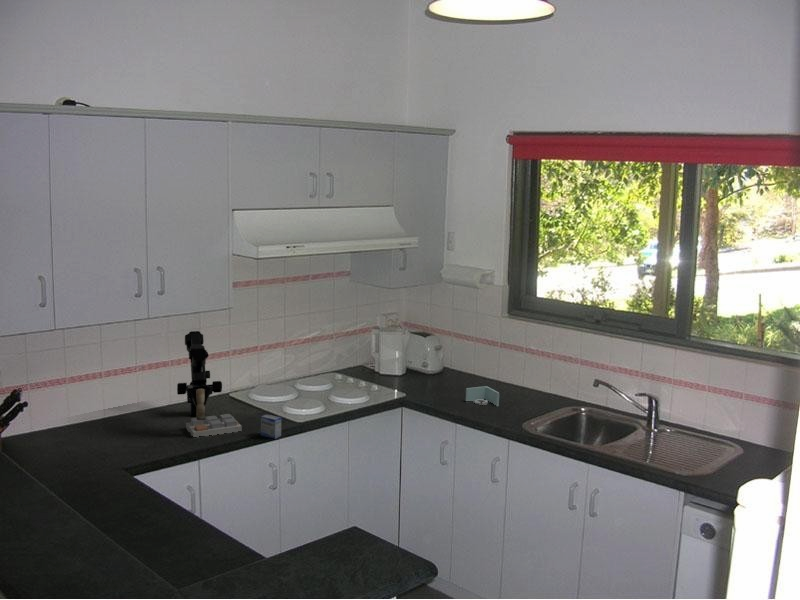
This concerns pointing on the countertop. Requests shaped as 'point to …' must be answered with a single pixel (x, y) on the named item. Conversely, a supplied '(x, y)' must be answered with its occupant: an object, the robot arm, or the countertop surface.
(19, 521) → the countertop surface
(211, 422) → the keypad
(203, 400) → the tan banded cylinder
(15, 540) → the countertop surface
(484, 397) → the l-shaped corner panel
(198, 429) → the terracotta key
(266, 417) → the medicine box
